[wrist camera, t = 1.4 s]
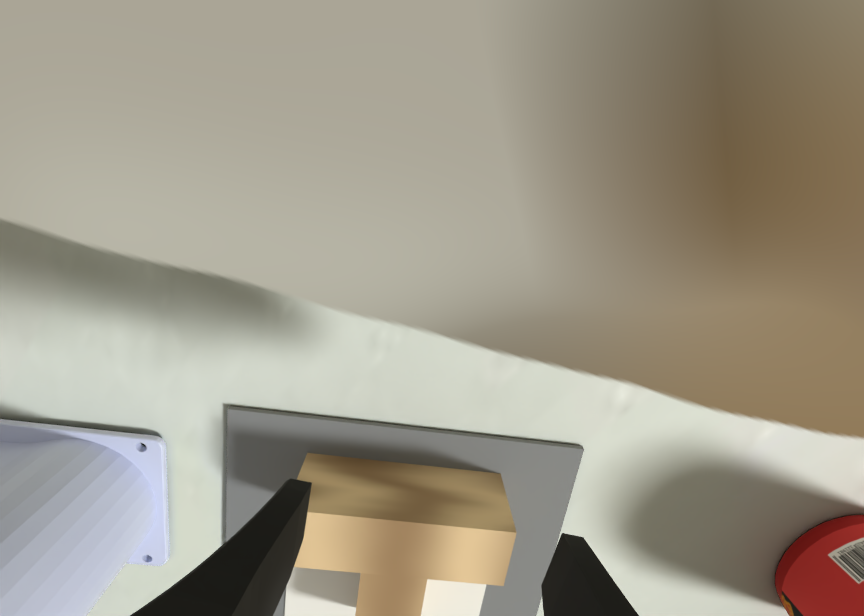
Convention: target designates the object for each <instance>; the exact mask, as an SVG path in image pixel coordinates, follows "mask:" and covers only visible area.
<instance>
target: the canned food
mask: <svg viewBox="0 0 864 616" xmlns="http://www.w3.org/2000/svg"><path fill="white" fill-rule="evenodd" d="M775 586H776V590H777V593H778V595H779V597H780V600H781V602H782V604H783V606H784V608H785V609H786V611H787V613H788V614H789V616H864V515H853V516H845V517H841V518H836V519H833V520H830V521H827V522H824V523H822V524H820V525H818V526H816V527H814V528H812V529H810V530H809V531H807V532H806V533H805V534H803V535H802V536H800V537H799V538H798V539H797V540H796V541H795V542H794V543H793V544H792V545H791V546H790V547H789V548H788V550H787V551H786V552H785V554H784V555H783V557H782V559H781V561H780V563H779V565H778V568H777V571H776V575H775Z"/></svg>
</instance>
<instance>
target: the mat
mask: <svg viewBox="0 0 864 616" xmlns="http://www.w3.org/2000/svg"><path fill="white" fill-rule="evenodd" d="M583 451H584V449H583V447H582V446H578V445H570V444H561V443H552V442H543V441H534V440H526V439H517V438H508V437H499V436H490V435H482V434H473V433H464V432H455V431H446V430H438V429H429V428H420V427H411V426H403V425H394V424H385V423H376V422H367V421H359V420H350V419H341V418H332V417H323V416H315V415H306V414H297V413H288V412H279V411H271V410H262V409H253V408H244V407H235V406H229V407H228V409H227V476H226V542H227V541H228V540H229V539H230V538H231V537H232V536H233V535H235V534H236V533H237V532H238V531H239V530H240V529H241V528H242V527H243V526H244V525H245V524H246V523H247V522H248V521H249V520H250V519H251V518H252V517H253V516H254V515H255V514H256V513H257V512H258V511H259V510H260V509H261V508H262V507H263V506H264V505H265V504H266V503H267V502H268V501H269V500H270V499H271V498H272V496H273V495H274V494H275V493H276V492H277V491H278V490H279V489H280V487H281V486H282V485H283V484H284V483H285V482H286V481H287V480H288V479H290V478H291V479H296V480H297V477H298V475H299V473H300V470H301V468H302V465H303V463H304V460H305V458H306V455H307V453H314V454H323V455H332V456H342V457H351V458H360V459H369V460H379V461H388V462H397V463H407V464H416V465H425V466H434V467H444V468H453V469H462V470H471V471H481V472H490V473H499V474H501V477H502V481H503V484H504V488H505V492H506V495H507V499H508V503H509V506H510V510H511V514H512V517H513V521H514V525H515V528H516V532H517V533H516V538H515V542H514V546H513V550H512V554H511V558H510V562H509V566H508V570H507V574H506V578H505V582H504V586H498V585H487V584H476V583H465V582H454V581H443V580H431V579H427V584H426V590H425V595H424V601H423V606H422V612H421V616H536V614H537V611H538V607H539V604H540V600H541V597H542V588H541V585H542V582H543V580H544V577H545V575H546V572H547V570H548V567H549V565H550V562H551V560H552V557H553V555H554V552H555V548H556V545H557V541H558V538H559V534H560V531H561V527H562V524H563V521H564V517H565V514H566V510H567V507H568V503H569V500H570V496H571V493H572V489H573V486H574V482H575V479H576V475H577V472H578V468H579V465H580V461H581V458H582V454H583ZM360 574H361V573H354V572H343V571H332V570H321V569H310V568H299V567H294V568H293V571H292V574H291V577H290V579H289V581H288V583H287V586H286V588H285V590H284V592H283V595H282V597H281V599H280V601H279V603H278V606H277V608H276V610H275V612H274V614H273V616H355V613H356V605H357V598H358V590H359V582H360Z"/></svg>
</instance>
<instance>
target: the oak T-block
mask: <svg viewBox="0 0 864 616" xmlns="http://www.w3.org/2000/svg"><path fill="white" fill-rule="evenodd" d="M297 480H301V481H306V482H311V483H312V486H311V492H310V499H309V506H308V512H307V519H306V525H305V532H304V538H303V541H302V544H301V547H300V550H299V553H298V556H297V559H296V562H295V565H294V567H299V568H310V569H321V570H332V571H343V572H354V573H361V574H360V582H359V590H358V598H357V605H356V613H355V616H421V612H422V606H423V601H424V595H425V590H426V584H427V579H431V580H443V581H454V582H465V583H476V584H487V585H498V586H504V582H505V578H506V574H507V570H508V566H509V562H510V558H511V554H512V550H513V546H514V542H515V538H516V533H517V532H516V528H515V525H514V521H513V517H512V514H511V510H510V506H509V503H508V499H507V495H506V492H505V488H504V484H503V481H502V477H501V474H499V473H490V472H481V471H471V470H462V469H453V468H444V467H434V466H425V465H416V464H407V463H397V462H388V461H379V460H369V459H360V458H351V457H342V456H332V455H323V454H314V453H307V455H306V458H305V460H304V463H303V465H302V468H301V470H300V473H299V475H298V477H297Z"/></svg>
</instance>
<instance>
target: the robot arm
mask: <svg viewBox="0 0 864 616" xmlns="http://www.w3.org/2000/svg"><path fill="white" fill-rule="evenodd" d="M141 443H143V444H145V445H146V447H144V446H142V445H141ZM311 486H312V483H311V482H306V481H301V480H296V479H291V478H290V479H288V480H287V481H286V482H285V483H284V484H283V485H282V486H281V487H280V489H279V490H278V491H277V492H276V493H275V494H274V495H273V496H272V498H271V499H270V500H269V501H268V502H267V503H266V504H265V505H264V506H263V507H262V508H261V509H260V510H259V511H258V512H257V513H256V514H255V515H254V516H253V517H252V518H251V519H250V520H249V521H248V522H247V523H246V524H245V525H244V526H243V527H242V528H241V529H240V530H239V531H238V532H237V533H236V534H235V535H233V536H232V537H231V538H230V539H229V540H228V541H227V542H226V543H224V544H223V545H222V546H221V547H220V548H219V549H218V550H216V551H215V552H214V553H213V554H212V555H211V556H210V557H208V558H207V559H206V560H205V561H204V562H203V563H201V564H200V565H199V566H198V567H196V568H195V569H194V570H193V571H191V572H190V573H189V574H188V575H186V576H185V577H184V578H182V579H181V580H180V581H178V582H177V583H176V584H174V585H173V586H172V587H171V588H169V589H168V590H166V591H165V592H164V593H162V594H161V595H159V596H158V597H157V598H155V599H154V600H152V601H151V602H149V603H148V604H147V605H145V606H144V607H142V608H141V609H139V610H138V611H136V612H135V613H133V614H132V615H130V616H273V614H274V612H275V610H276V608H277V606H278V603H279V601H280V599H281V597H282V595H283V592H284V590H285V588H286V586H287V583H288V581H289V579H290V577H291V574H292V571H293V568H294V565H295V562H296V559H297V556H298V553H299V550H300V547H301V544H302V541H303V538H304V532H305V525H306V519H307V512H308V506H309V499H310V492H311ZM149 555H150V556H149ZM169 557H170V545H169V516H168V488H167V459H166V444H165V441H164V440H163V439H162V438H160V437H158V436H153V435H144V434H134V433H125V432H116V431H107V430H97V429H88V428H79V427H70V426H60V425H51V424H42V423H33V422H23V421H14V420H5V419H0V616H87V615H88V613H89V612H90V611H91V609H92V608H93V607H94V605H95V604H96V603H97V601H98V600H99V599H100V597H101V596H102V595H103V593H104V592H105V591H106V589H107V588H108V587H109V585H110V584H111V583H112V581H113V580H114V579H115V577H116V576H117V575H118V573H119V572H120V571H121V569H122V568H123V567H124V565H125V564H126V563H129V564H141V565H152V566H162V565H164V564H165V563H166V562H167V560H168V559H169ZM541 588H542V599H543V610H544V616H639V615H638V614H637V612H636V611H635V610H634V608H633V607H632V606H631V604H630V603H629V602H628V600H627V599H626V598H625V596H624V595H623V593H622V592H621V591H620V589H619V588H618V586H617V585H616V584H615V582H614V581H613V579H612V578H611V576H610V575H609V574H608V572H607V571H606V569H605V568H604V566H603V565H602V564H601V562H600V561H599V559H598V558H597V556H596V555H595V554H594V552H593V551H592V549H591V548H590V546H589V545H588V544H587V542H586V541H585V539H584V538H583V537H579V536H574V535H569V534H564V533H562V535H561V537H560V540H559V542H558V545H557V547H556V550H555V552H554V555H553V557H552V560H551V562H550V565H549V567H548V570H547V572H546V575H545V577H544V580H543V582H542V585H541Z"/></svg>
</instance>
